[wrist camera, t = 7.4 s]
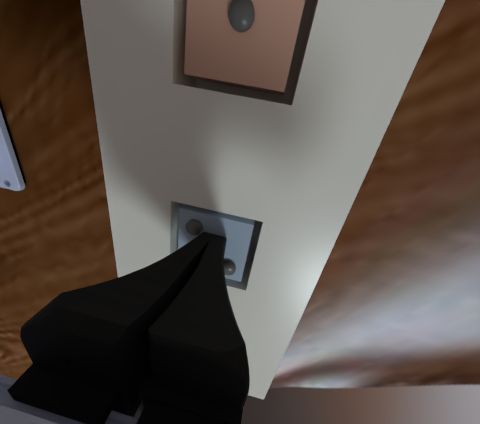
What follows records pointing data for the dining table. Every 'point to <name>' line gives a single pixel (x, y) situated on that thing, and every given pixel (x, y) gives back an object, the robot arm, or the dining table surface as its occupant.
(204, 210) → the button three
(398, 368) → the dining table surface
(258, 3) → the button one
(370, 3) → the button panel
